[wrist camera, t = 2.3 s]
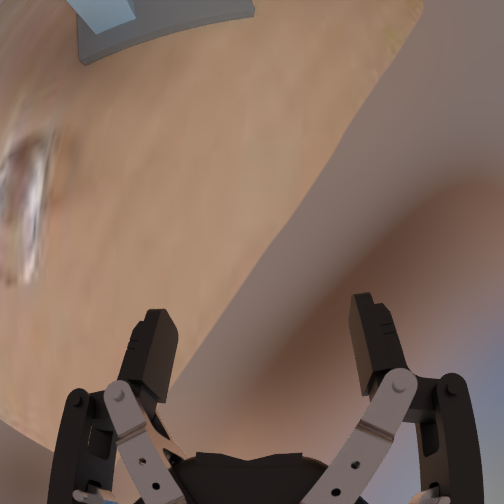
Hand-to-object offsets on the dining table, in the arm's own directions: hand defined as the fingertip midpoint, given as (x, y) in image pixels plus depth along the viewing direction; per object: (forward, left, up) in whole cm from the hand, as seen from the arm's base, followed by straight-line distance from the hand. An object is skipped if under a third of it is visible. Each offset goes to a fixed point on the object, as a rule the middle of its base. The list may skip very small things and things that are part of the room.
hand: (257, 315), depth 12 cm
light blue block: (-32, +12, -21) cm, 40 cm away
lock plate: (-28, +17, -23) cm, 41 cm away
